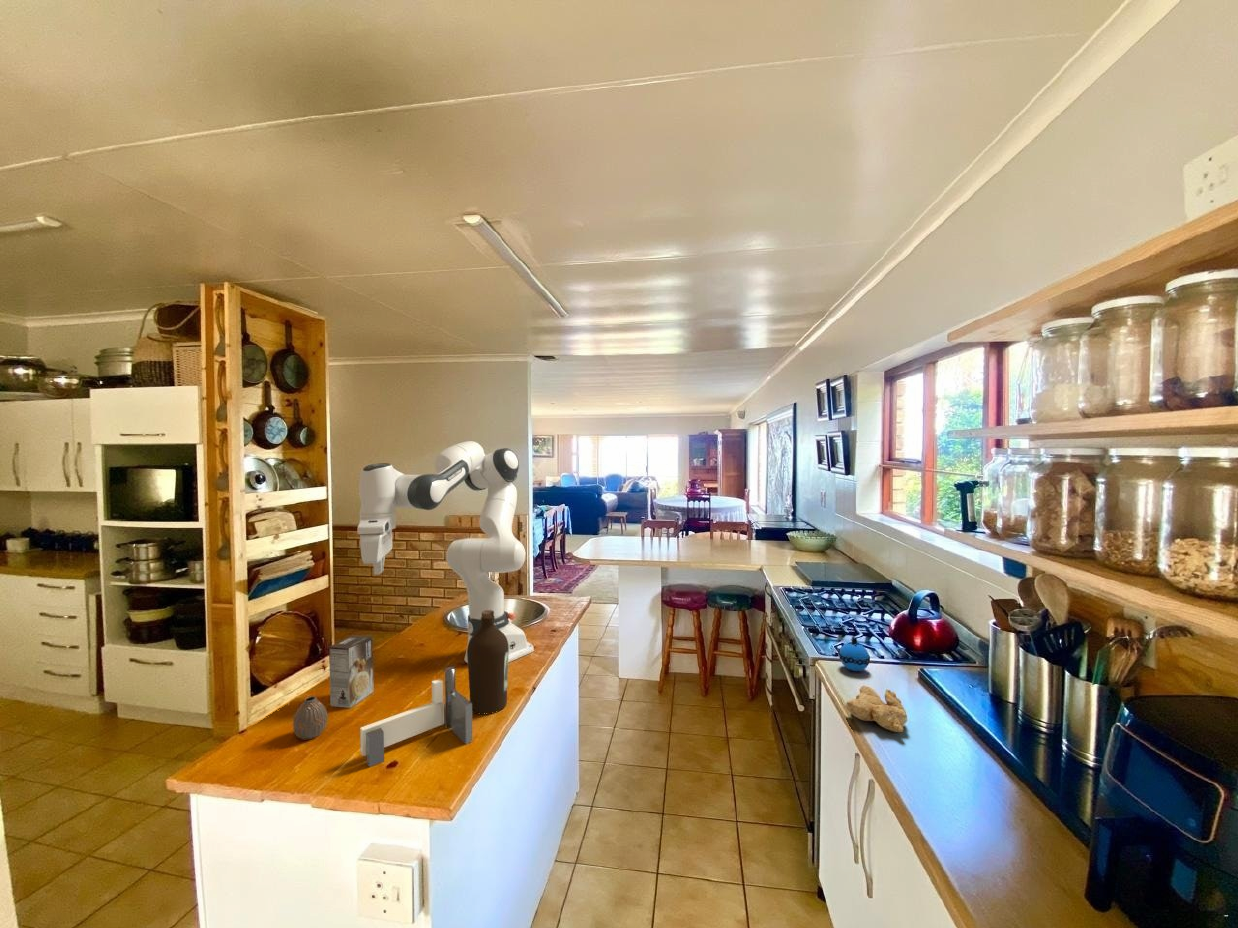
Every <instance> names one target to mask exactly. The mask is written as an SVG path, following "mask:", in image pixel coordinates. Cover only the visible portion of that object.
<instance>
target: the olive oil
mask: <svg viewBox="0 0 1238 928" xmlns="http://www.w3.org/2000/svg"><path fill="white" fill-rule="evenodd" d="M467 645H468V648H467V647H466V651H467V658H468V663H467V667H468V668H467V669H468V670H467V671H468V683H469V685H468V687H469V701H470V702H471V703H472V713H474V712H475V713H474V714H477V713H480V714H479V715H487V714H486V713H492V712H495V713H497V712H496V711H498V712H500V711H502V710H503V709H505V707H506V706H507V704H508V703H507V702H508V678H509V677H508V675H509V674H508V671H509V663H508V655H509V645H508V641H507V638H506V636H505V635H504V634H503V633H502V632H501V631H500V630H499V629H498V628H497V627H496V626H495V625H494V611H493V610H485V611H483V612H482V617H481V627H480V628H479V630H478V631H477V632H476V633H475V634H474V635H473V636H472V638H471V639H470V641H469V644H468V643H467ZM501 709H502V710H501ZM499 710H500V711H499ZM484 713H485V714H484ZM492 714H493V713H492Z"/></svg>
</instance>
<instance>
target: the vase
mask: <svg viewBox="0 0 1238 928" xmlns="http://www.w3.org/2000/svg"><path fill="white" fill-rule="evenodd" d="M327 722H328V711H327V709H326V707H325V705H324V704H323V703H322V702H321V701H320V700H319V699H318V698H317V697H316V696H313V695H311V696H308V697H305V698H304V700H303V702H302V704H301V705H300V706H299V707H298V709H297V711H296V712H295V715H294V717H293V722H292V728H293V729H292V730H293V732H294V734H295V735H296V737H298V738H299V739H300V740H305V741H306V740H307V741H308V740H311V739H315V738H317V737H318V736H319V735H321V733H323V731H324V730H325V728H326V726H327V724H328V723H327Z"/></svg>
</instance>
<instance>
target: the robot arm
mask: <svg viewBox="0 0 1238 928" xmlns="http://www.w3.org/2000/svg"><path fill="white" fill-rule="evenodd" d="M519 461H520V460H519V458H518V456H517V454H516V453H515V451H514V450H512V449H510V448H506V447H505V448H504V447H503V448H499V449H496V450H495V451H493V452H490V453H488V454H485V450H484V448H483V447H482V446H481V444H479V443H478V442H477V441H473V440H468V441H463V442H459V443H455V444H454V445H451V446H449V447H446V448H444V449H442V450H441V452H439V453H438V454H437V455H436V457H435V460H434V468H435V472H436V473H437V474H434V473H429V474H427V473H425V474H405V473H404V472H401V471H398V470H397V469H395V468H394V467H393V464H392V463H387V462H378V463H372V464H368V465H366V466H364V467H363V468H362V469H361V472H360V476H359V484H358V485H359V489H358V493H359V495H358V496H359V500H360V509H359V523H358V524H357V530H356V531H357V535H360V536H359V547H360V555H361V560H362V563H363V564H364V565H371V564H372V566H373V567H372V568H373V574H374V575H375V576H376V575H381V574H382V573H384V566H385V559H386V558H385V557H386V555H388V554H389V553H390V552H391V551H392V550H393V530H394V529H396V528H397V518H396V517H397V514H396V513H397V511H396V509H397V508H402V509H419V510H425V511H433V510H434V509H436V508H438V507H439V505H440V504H441V503H442V501H444V499H445V497H446V496H447V495H448V494H449V493H450V492H452V490H454V489H455V488H457V487H458V486H459V485H460V484H462V482H464V483H465V485H466V486H467V487H468V488H469V489H471V490H473V491H476V492H478V491H483V490H486V489H487V496H486V498H485V501H484V504H483V507H482V510H481V513H480V516H479V520H478V523H479V525H478V526H479V527H480V529H481V531H482V532H483V533H484V534H486V535H487V536H489V537H488V538H487V537H486V538H484V537H483V538H480V537H479V538H477V537H476V538H475V537H473V538H472V537H469V538H460V539H457V540H454V541H452V542H451V543H450V544H449V546H448V548H447V550H446V553H445V554H446V555H445V556H446V557H445V559H446V563H447V565H448V566H449V568H450V569H451V570H452V571H453V572H455V573H456V574H457V575H458V576H459V578H460V579H462V582H463V584H464V585H465V588H466V591H467V597H468V615H467V634H468V639H467V640H468V641H467V647H466V649H467V648H468V644H469V641H470V639H471V638H472V636H473V635H474V634H475V633H476V632H477V631H478V630H479V628H480V627H481V617H482V612H483V611H485V610H493V611H494V625H495V626H496V627H497V628H498V629H499V630H500V631H501V632H502V633H503V634H504V635H505V636H506V638H507V641H508V645H509V655H508V664H509V663H511V662H513V661H515V660H517V659H520V658H522V657H524V656H527V655H528V654H530V653H533V652H534V646H533V644H532V643H531V642H529V641H527V637H526V634H525V632H524V631H523V629H522V628H520V627H518V626H517V625H516V624H513V623H512V622H510V621H512V620H513V621H514V620H515V617H516V615H515V614H514V613H513V612H508V611H505V597H504V595H505V594H504V593H505V591H504V589H503V588H502V586H501V585H500V584H499V583H497V582H495V581H493V580H492V579H491V577H489V575H488V573H492V574H493V573H496V574H497V573H498V574H499V573H501V574H503V573H511V572H517V571H519V570H520V569H521V568H522V567H523V566H524V563H525V561H526V555H527V554H526V549H525V547H524V545H523V543H522V542H521V541H520V540H518V539H517V538H516V537H515V534H513V522H514V518H515V513H516V509H517V504H518V503H517V502H518V490H517V488H516V486H515V485H514V484H513V482H515V481H516V480H517V478H518V472H519V469H520V462H519ZM463 660H464V662H465V663H467V664H468V658H467V650H466V651H465V656H464V658H463Z"/></svg>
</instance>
